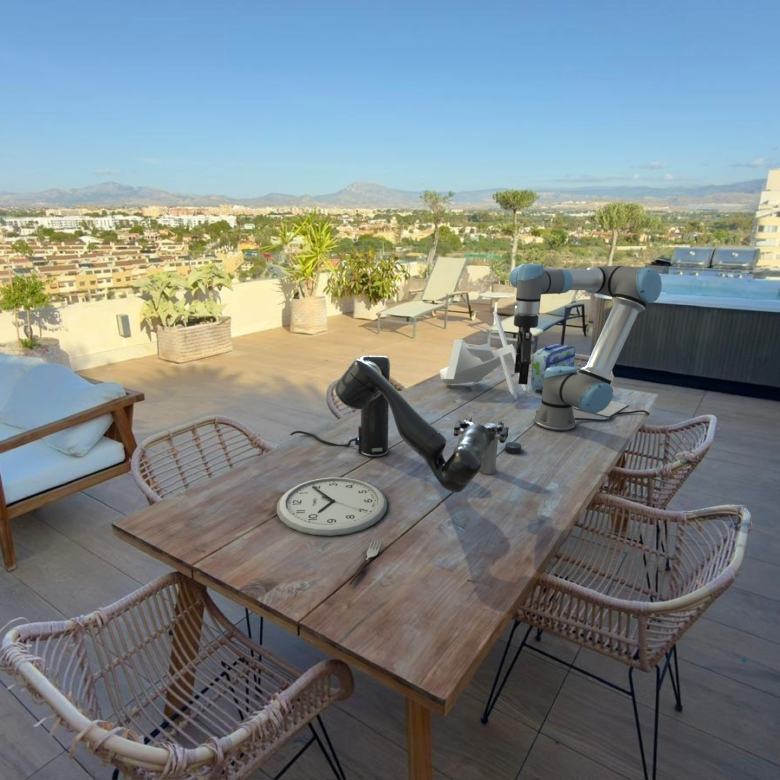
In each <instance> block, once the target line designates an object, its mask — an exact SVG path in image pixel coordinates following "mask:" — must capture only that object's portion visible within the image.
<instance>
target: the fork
mask: <svg viewBox="0 0 780 780" xmlns="http://www.w3.org/2000/svg"><path fill="white" fill-rule="evenodd" d="M376 540H377V543H376ZM379 540H380V542H379ZM373 541H374V542H373ZM382 541H383V539H379V538H378V539H377V538H375V540H374V538H372V540H371V542H370V544H369V547H368V549H367V551H366V556H367V557H366V558H365V559H364V561H362V563H361V564H360V565H359V566H358V567H357V569H356V571H355V573H354V575H353V577H352V579H351V581H350V583H349V585H352V584H353V583H354V582H355V581H356V579H357V578H358V577H359V576H360V574H361V573H363V571H364V569H365V567H366V564H367V563H368V560H369V559H371V558H374V557H376V556H377V555H378V554H379V551H380V548H381V544H382ZM378 543H379V545H378ZM372 544H373V545H372Z"/></svg>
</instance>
